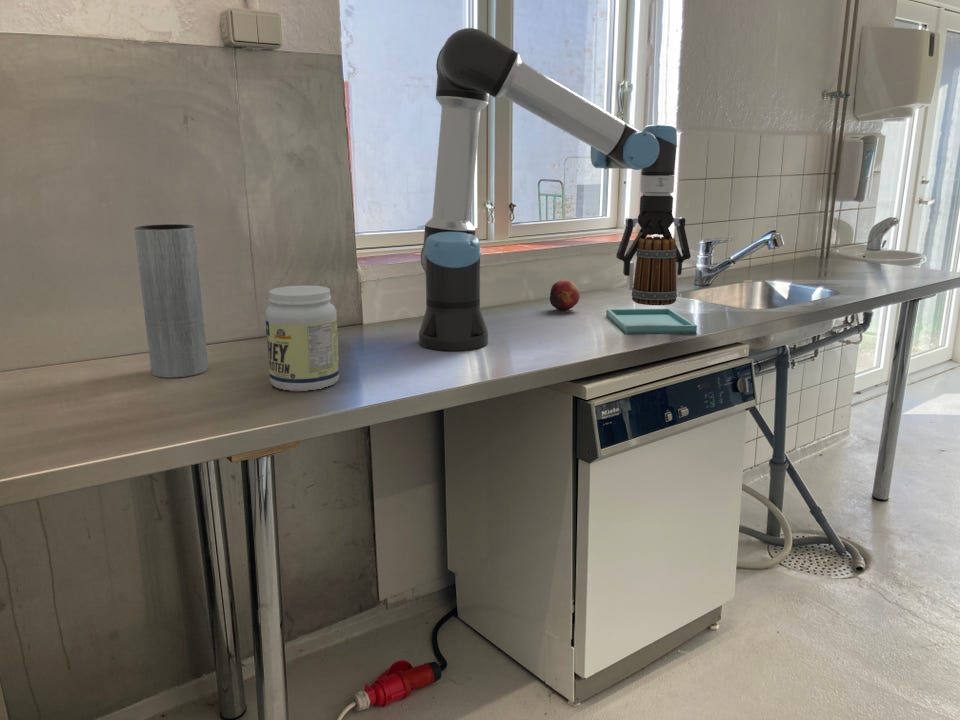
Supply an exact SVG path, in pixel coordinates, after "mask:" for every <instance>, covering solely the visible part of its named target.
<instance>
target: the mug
mask: <svg viewBox="0 0 960 720" xmlns="http://www.w3.org/2000/svg"><path fill="white" fill-rule="evenodd" d="M660 236H661V235H654V236H653V235H652V236H646V238H645V239H642V238H640V239H639V243H638V248H637V251H636V253H635V256H636V262H635V270H634V276H633V288H632V290H631V300H632V301H633V302H634V303H635V304H639V305H645V306H670V305H673V304H674V303H676V302H677V297H678V290H677V289H676V246H677V244H676V239H675V238H674V237H672V238H669V239H668V240H667V239H666V237H663V236H661V237H660Z"/></svg>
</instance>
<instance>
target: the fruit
mask: <svg viewBox="0 0 960 720" xmlns="http://www.w3.org/2000/svg"><path fill="white" fill-rule="evenodd" d="M551 286H552V287H551V289H550V293H549V301H550V305H551V306H552V307H553V308H554V309H556V310H558V311H563V312H566V311H569V310H570V309H573V308H574V307H575V306H577V304H578V303H579V300H580V297H581V295H580V294H581V293H580V291H579V289H578V286H577V285H576V283H574V282H573V281H572V280H559V281H556V282H554V283H553V284H552V285H551Z"/></svg>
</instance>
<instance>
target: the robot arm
mask: <svg viewBox="0 0 960 720" xmlns="http://www.w3.org/2000/svg"><path fill="white" fill-rule="evenodd" d="M435 66H436V67H435V68H436V74H437V76H436V77H437V79H436V87H435V88H436V89H435V90H436V91H435V100H436V102H437V103H438V104H439V105H440V106H441V112H440V113H441V114H440V123H439V124H440V126H439V136H438V137H439V138H438V149H437V160H436V171H435V184H434V195H433V206H432V207H433V208H432V217H431V218H430V219H429V220H428V221H427V222H425V224H424V232H423V233H424V235H423V245H422V247H421V248H422V249H421V251H420V264H421V266H422V269H423V272H424V273H425V296H426V297H425V298H426V301H425V302H426V307H425V312H424V315H423V319H422V321H421V324H420V329H419V332H418V345H420V346H421V347H423V348H425V349H426V348H427V349H430V350H436V351H437V350H438V351H447V352H448V351H450V352H451V351H457V352H458V351H467V350H470V351H471V350H475V349H480V348H483V347H486V346H487V345H488V344H489V332H488V328H487V325H486V322H485V319H484V316H483V313H482V309H481V255H482V249H481V244H480V243H481V242H480V240H479V238H478V237H477V236H476V230H477V229H476V228H475V226H474V225H473V223H472V222H471V221H470V220H471V212H472V203H473V190H474V182H475V173H476V163H477V161H476V160H477V151H478V140H479V131H480V122H481V112H482V110H484V109H485V108H486V107H487V106H488V105H489V99H490V96H491V97H492V98H495V99H497V98H501V97H504V98H505V99H507V100H509V101H510V102H512V103H514V104H516V105H518V106H519V107H521V108H522V109H525V110H526V111H528V112H530V113H532V114H533V115H535V116H537V117H538V118H540V119H542V120H544V121H546V122H547V123H550V125H553V126H554V127H556V128H558V129H560V130H561V131H563V132H565V133H567V134H569V135H570V136H572V137H573V138H575V139H578V140H580V141H581V142H583V143H585V144H586V145H588V146H590V161H591V165H592V166H593V167H594V169H605V170H608V169H619V170H620V169H622V170H624V169H626V170H628V169H629V170H635V171H638V170H641V173H640V174H641V178H640V193H642V195H640V196H639V198H640V199H639V213H638V216H637V217H634V218H633V217H632V218H631V217H626V218H625V228H624V231H623V233H622V238H621V240H620V244H619V245H618V249H617V253H616V255H615V257H616V259H618V260H620V261H622V262H623V272H622V273H623V275H624V276H625V277H626V289H627V290H629V291H632V288H633V285H634V262H633V260H632V259H633V258H634V256H636V254H637V248H638V243H639V239H640V238H642V239H645V238H646V237H648V236H653V235H654V236H655V235H656V236H662V237H666V239H667V240H668V239H669V238H673V235H672V233H671V231H670V229H669V228H670V227H671V226H672V224H673V223H674V225H673V226H674V227H675V228H676V233H677V236H678V242H679V246H680V249H679V248H678V245H676V289H677V288H678V276H681V275H682V271H683V270H682V269H683V263H684V262H685V261H686V260H689V259H691V257H692V256H691V251H690V247H689V243H688V242H689V241H688V239H687V238H688V237H687V233H686V228H685V226H686V218H685V217H681V216H680V217H679V216H678V217H674V215H673V208H674V207H673V205H674V203H673V202H674V196H673V195H671V194H672V193H674V186H675V171H676V170H675V168H676V160H677V157H676V156H677V148H678V135H677V134H678V133H677V128H676V126H675V125H672V124H658V125H657V124H655V125H654V124H653V125H652V124H651V125H650V124H649V125H645V126H644V127H643V130H638V129H636V128H635V127H634V126H631V125H630V124H628V123H626V122H624V121H623V120H622V119H619V118H618V117H616V116H615V115H613V114H611V113H610V112H608V111H606V110H605V109H602V108H601V107H599V106H598V105H596V104H594V103H593V102H591V101H589V100H587V99H586V98H584V97H583V96H580V95H579V94H577V93H576V92H574V91H572V90H570V89H569V88H567V87H565V86H564V85H562V84H561V83H559V82H557V81H556V80H554V79H552V78H550V77H549V76H547V75H545V74H544V73H542V72H540V71H538V70H537V69H535V68H533V67H532V66H530V65H528V64H527V63H525V62H523V61H522V60H521V56H520V54H519V53H518V52H517V51H515V50H514V49H512V48H510V47H509V46H507V45H506V44H504V43H502V42H501V40H500V41H499V40H498V39H496V38H495V37H494V36H492V35H490V34H489V33H487V32H485V31H483V30H481V29H478V28H474V27H466V28H462V29H459V30H457V31H455V32H453V33H452V34H451V35H449V37H448V38H447V40H446V41H445V43H444V45H442V47H441V49H440V51H439V52H438V56H437V59H436V64H435ZM637 224H638V226H639V227H640V229H639V231H638V233H637V235H636V237H635V239H634V240H633V241H632V244H631V245H630V246H629V242H630V239H631V236H632V233H633V230H634V227H636V225H637ZM628 246H629V248H628ZM627 249H628V250H627ZM626 251H627V252H626Z"/></svg>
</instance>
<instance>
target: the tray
mask: <svg viewBox="0 0 960 720" xmlns="http://www.w3.org/2000/svg"><path fill="white" fill-rule="evenodd" d="M605 317H606V318H607V319H609V320H610V322H612V323H613V325H615V326H616V327H617V328H618V329H619V330H620V331H621V332H622V333H624V335H649V334H650V335H652V334H654V335H659V334H660V335H662V334H664V335H665V334H675V335H676V334H697V330H698V329H697V328H698V326H697V324H695V323H693V322H692V321H690V320H689V319H688V318H686V317H684V316H682V315H681V314H680V313H678V312H676V311H675V310H673V309H671V308H606V311H605Z"/></svg>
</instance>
